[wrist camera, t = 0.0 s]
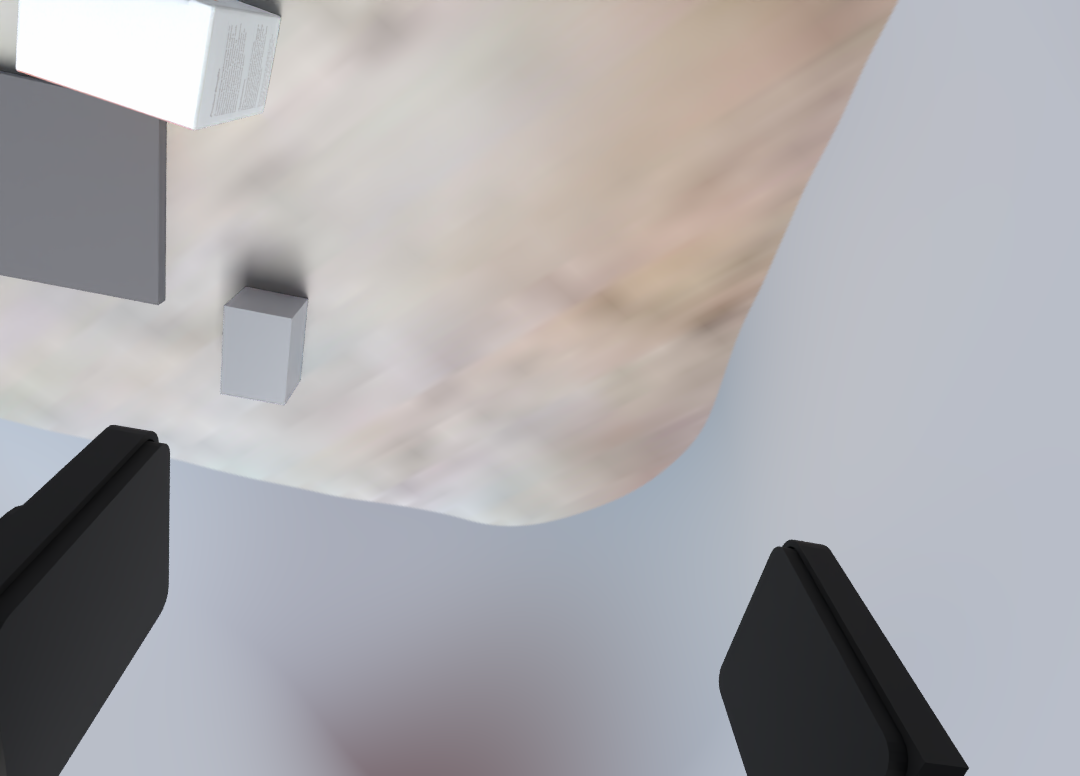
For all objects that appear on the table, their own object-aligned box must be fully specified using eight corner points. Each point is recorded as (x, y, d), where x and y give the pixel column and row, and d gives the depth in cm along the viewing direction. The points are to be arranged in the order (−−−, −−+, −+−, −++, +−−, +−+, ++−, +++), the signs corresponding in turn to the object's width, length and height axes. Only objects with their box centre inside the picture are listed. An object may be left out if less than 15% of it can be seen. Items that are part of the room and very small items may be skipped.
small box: (124, 66, 41) (7, 70, 32) (136, -41, 39) (14, -71, 29) (265, 116, 42) (194, 135, 33) (285, 16, 40) (214, 4, 31)
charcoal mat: (-55, 58, 41) (-68, 58, 40) (166, 107, 42) (158, 108, 41) (-33, 262, 45) (-44, 266, 44) (165, 300, 47) (158, 305, 46)
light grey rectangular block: (246, 285, 47) (224, 305, 43) (308, 298, 47) (291, 318, 44) (241, 368, 49) (220, 393, 46) (300, 379, 50) (284, 405, 46)
